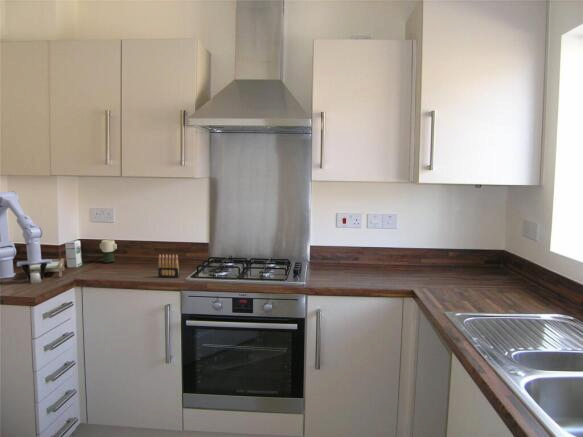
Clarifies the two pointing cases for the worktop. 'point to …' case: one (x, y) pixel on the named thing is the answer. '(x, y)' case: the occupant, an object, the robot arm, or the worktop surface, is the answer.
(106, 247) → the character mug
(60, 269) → the frame
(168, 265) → the ammunition clip
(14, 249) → the robot arm
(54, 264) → the trapdoor
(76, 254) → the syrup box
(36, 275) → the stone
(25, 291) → the worktop surface
